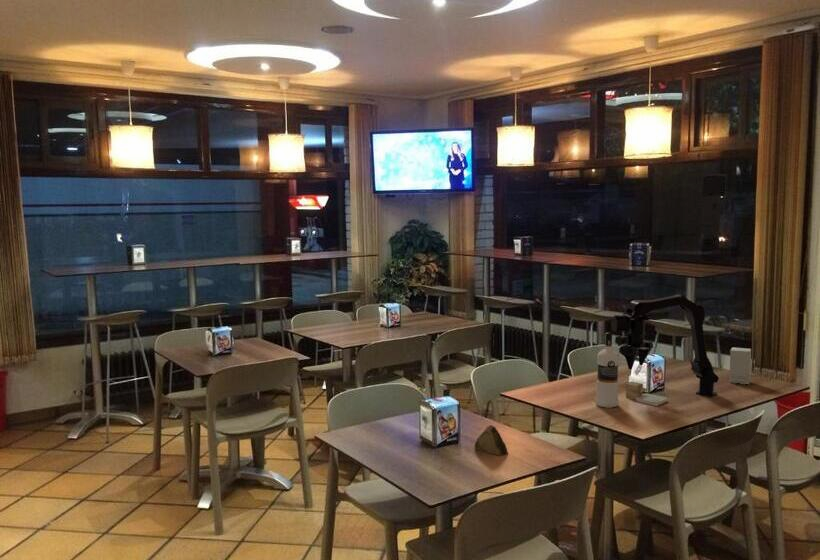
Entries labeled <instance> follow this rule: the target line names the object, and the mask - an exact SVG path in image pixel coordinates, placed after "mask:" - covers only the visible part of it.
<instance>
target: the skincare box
mask: <svg viewBox="0 0 820 560" xmlns="http://www.w3.org/2000/svg"><path fill="white" fill-rule="evenodd" d="M729 351H730V353H729V383H730V382H732V383H731V384H736V383H740V384H739V385H745V384H748V385H747V386H749V385H750V383H751V370H752V369H751V368H752V348H746V347H745V348H744V347H735V346H734V347H731V349H730V350H729Z"/></svg>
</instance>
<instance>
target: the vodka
mask: <svg viewBox="0 0 820 560" xmlns="http://www.w3.org/2000/svg"><path fill="white" fill-rule="evenodd" d="M604 343H605V344H604V348H603V349H601V350H599V352H598V353H597V362H596V363H597V376H596V377H597V378H596V393H595V397H594V403H595V405H597V407H600V408H604V407H605V409H613V407H614V408H616V407H618V406H619V403H620V402H619V401H620V400H619V394H618V384H619V381H618V380H619V361H620V357H619V352H617V351H615V350H614V349H613V346H612V345H613V333H612V332H605V341H604Z"/></svg>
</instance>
